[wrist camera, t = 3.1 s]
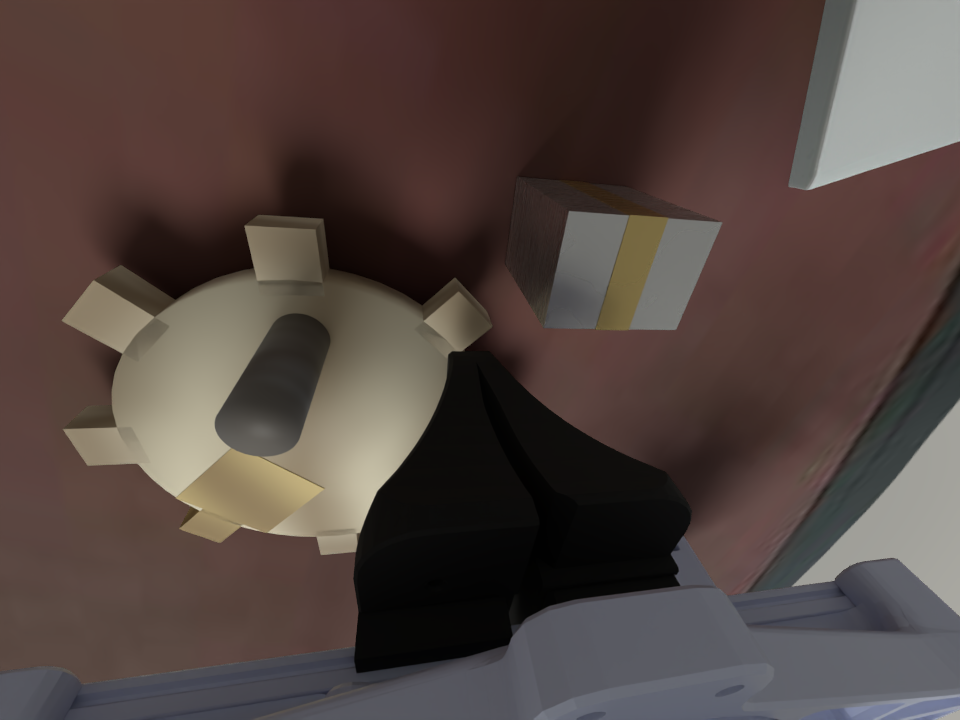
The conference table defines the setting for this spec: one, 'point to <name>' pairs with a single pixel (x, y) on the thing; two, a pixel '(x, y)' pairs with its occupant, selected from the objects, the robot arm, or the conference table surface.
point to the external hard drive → (879, 87)
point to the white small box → (604, 255)
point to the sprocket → (270, 385)
